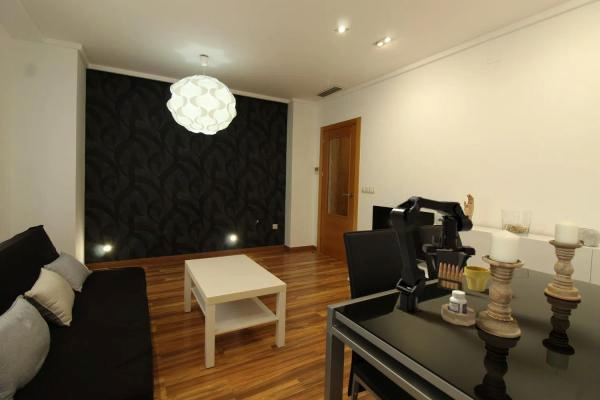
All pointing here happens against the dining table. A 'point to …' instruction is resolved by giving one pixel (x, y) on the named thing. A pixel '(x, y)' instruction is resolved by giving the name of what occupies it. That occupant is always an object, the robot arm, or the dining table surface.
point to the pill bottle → (458, 302)
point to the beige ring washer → (458, 316)
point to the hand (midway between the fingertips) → (447, 270)
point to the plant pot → (476, 277)
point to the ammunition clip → (450, 278)
